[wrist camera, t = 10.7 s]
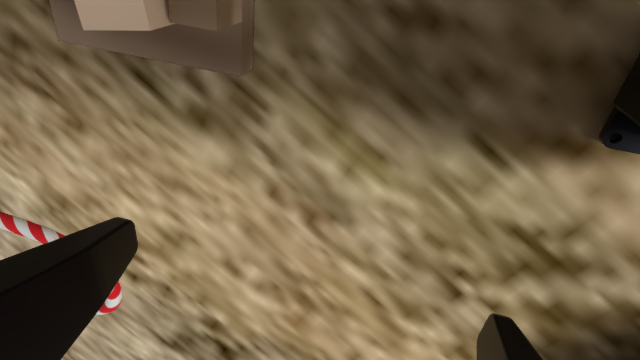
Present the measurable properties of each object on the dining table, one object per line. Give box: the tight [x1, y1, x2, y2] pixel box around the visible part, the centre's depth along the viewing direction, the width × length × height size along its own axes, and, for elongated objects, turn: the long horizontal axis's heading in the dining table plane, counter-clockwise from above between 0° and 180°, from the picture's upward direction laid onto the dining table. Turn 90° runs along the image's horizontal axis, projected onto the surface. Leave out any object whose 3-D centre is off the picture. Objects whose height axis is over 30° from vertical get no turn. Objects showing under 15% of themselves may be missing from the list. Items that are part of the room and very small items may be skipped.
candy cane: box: [0, 212, 122, 315], centre depth 32 cm, size 8×1×15 cm
